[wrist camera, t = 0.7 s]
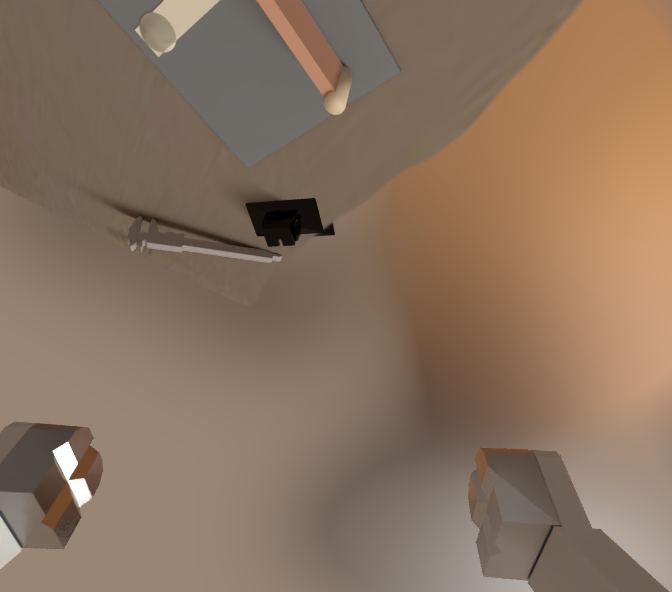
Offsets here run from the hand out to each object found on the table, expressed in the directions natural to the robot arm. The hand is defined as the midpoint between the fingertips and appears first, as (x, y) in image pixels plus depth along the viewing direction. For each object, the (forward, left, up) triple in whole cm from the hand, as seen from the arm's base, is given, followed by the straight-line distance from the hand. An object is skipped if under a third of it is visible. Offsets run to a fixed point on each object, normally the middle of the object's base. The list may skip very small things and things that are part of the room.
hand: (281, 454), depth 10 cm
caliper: (+37, +14, -44) cm, 59 cm away
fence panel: (+8, 0, -43) cm, 44 cm away
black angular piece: (+25, +16, -45) cm, 54 cm away
